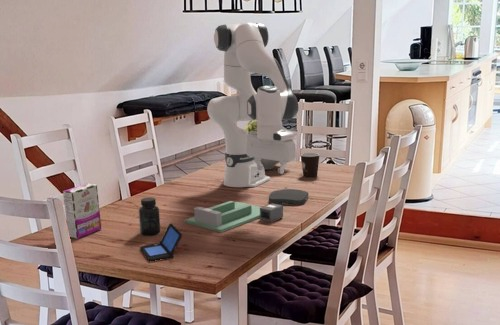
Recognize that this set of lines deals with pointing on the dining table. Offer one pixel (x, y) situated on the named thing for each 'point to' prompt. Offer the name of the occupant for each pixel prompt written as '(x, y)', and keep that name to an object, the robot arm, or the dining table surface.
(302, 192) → the media streaming box
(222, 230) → the board
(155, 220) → the supplement bottle
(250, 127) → the flower arrangement
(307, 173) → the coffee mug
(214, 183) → the dining table surface
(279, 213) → the labelled grey storage bin
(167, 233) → the handheld game console
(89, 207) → the candy bar box
